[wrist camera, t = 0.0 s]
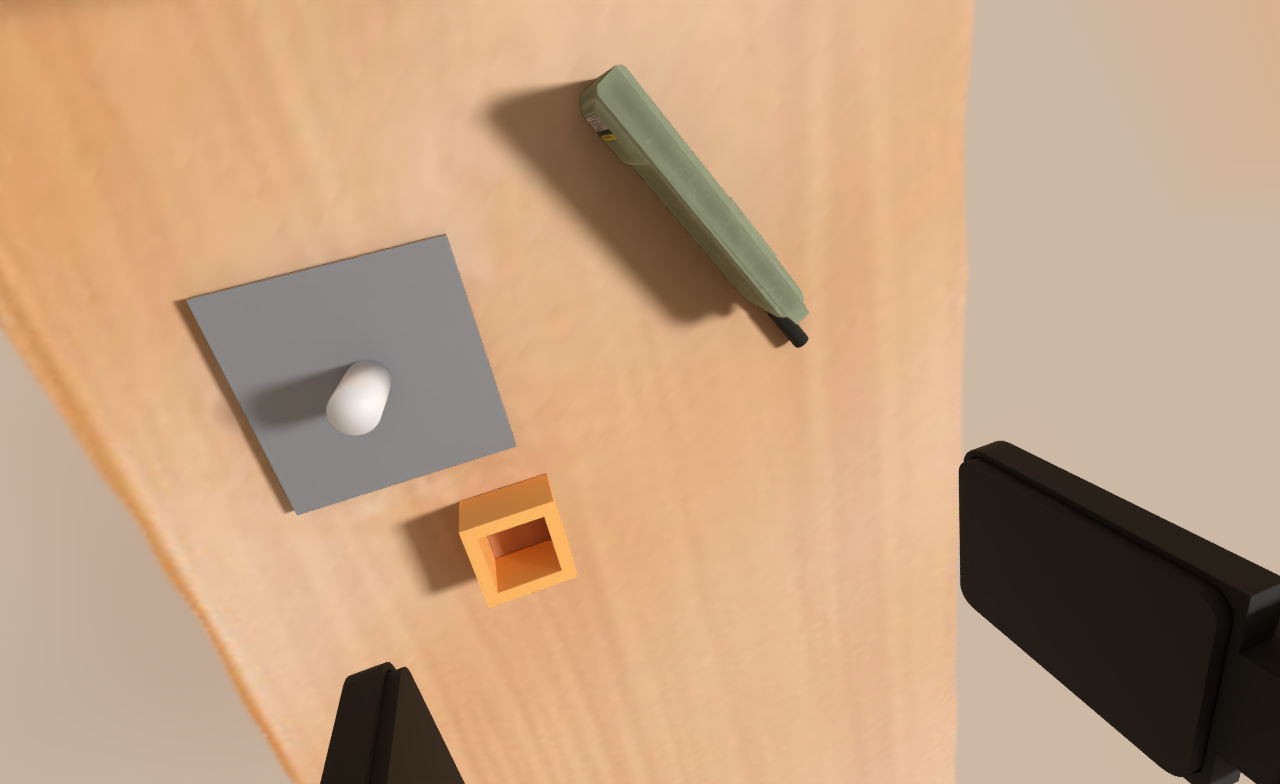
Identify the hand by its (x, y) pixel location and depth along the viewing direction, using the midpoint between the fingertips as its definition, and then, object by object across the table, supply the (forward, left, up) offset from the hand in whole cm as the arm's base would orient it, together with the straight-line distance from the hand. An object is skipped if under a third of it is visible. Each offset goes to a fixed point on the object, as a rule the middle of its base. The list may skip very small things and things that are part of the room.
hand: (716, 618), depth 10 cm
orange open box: (+19, -6, -37) cm, 42 cm away
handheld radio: (0, +14, -37) cm, 40 cm away
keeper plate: (+4, -12, -37) cm, 39 cm away
